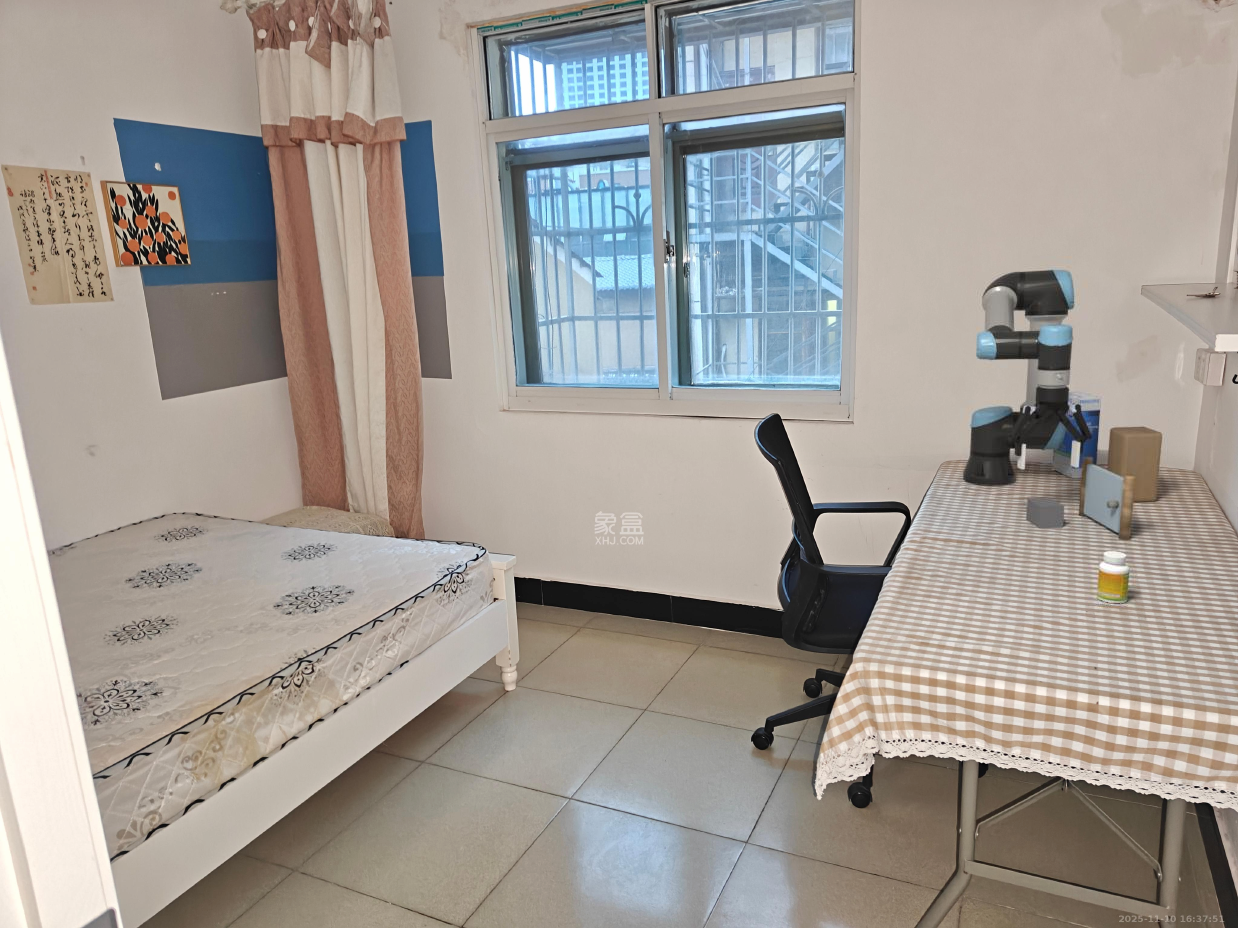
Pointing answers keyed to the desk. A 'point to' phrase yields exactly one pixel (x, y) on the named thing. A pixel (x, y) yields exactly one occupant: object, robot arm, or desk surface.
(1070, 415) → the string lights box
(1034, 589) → the desk surface
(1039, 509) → the block
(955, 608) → the desk surface
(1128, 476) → the door frame
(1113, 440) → the wooden block
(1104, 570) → the supplement bottle
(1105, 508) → the door
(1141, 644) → the desk surface
